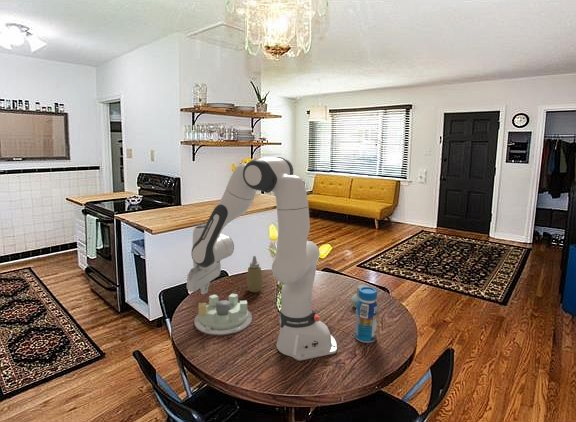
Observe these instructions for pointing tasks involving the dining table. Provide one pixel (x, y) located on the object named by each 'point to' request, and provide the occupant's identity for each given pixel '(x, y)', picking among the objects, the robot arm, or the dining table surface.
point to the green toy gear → (223, 312)
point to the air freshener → (356, 296)
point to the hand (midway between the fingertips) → (204, 292)
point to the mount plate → (225, 331)
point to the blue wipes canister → (366, 315)
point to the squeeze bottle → (254, 276)
